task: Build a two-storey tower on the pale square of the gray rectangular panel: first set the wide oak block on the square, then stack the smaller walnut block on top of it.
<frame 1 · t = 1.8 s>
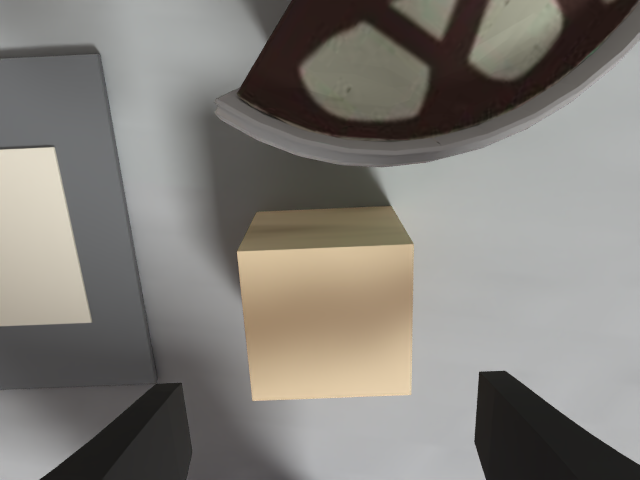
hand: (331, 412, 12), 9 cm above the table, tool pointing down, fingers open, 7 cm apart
food container: (425, 9, 17), on the table
oak block: (326, 270, 20), on the table
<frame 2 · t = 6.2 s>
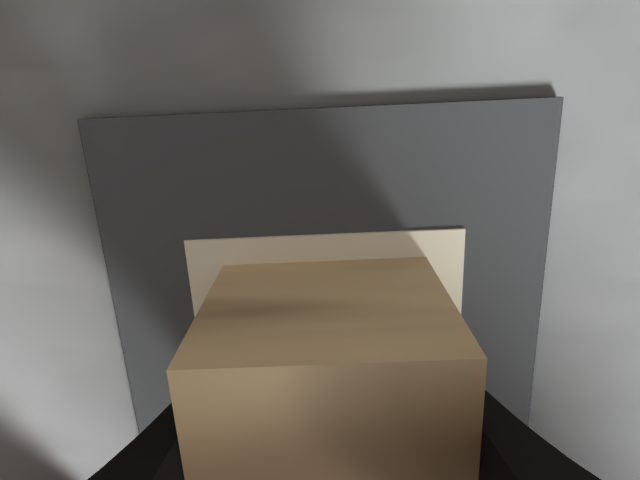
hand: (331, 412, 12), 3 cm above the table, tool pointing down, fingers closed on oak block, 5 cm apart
gray rectangular panel: (329, 350, 14), on the table
oak block: (328, 350, 14), resting on gray rectangular panel, touching gripper
when the fingers open (3 cm above the table, at t = 6.6 s): oak block stays where it is, resting on gray rectangular panel.
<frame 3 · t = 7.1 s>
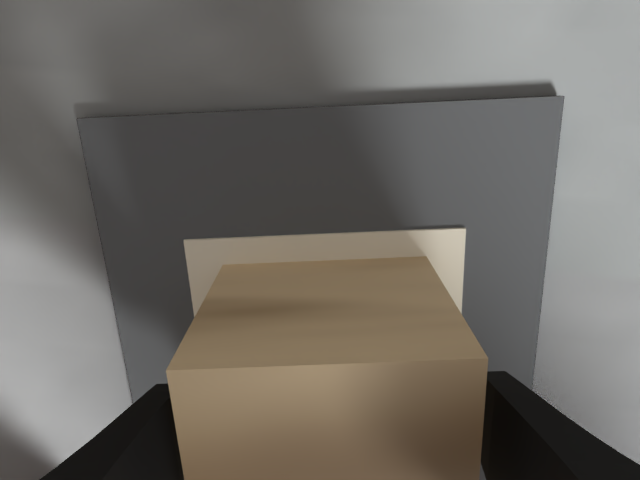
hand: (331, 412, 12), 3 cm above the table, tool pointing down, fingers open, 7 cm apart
gray rectangular panel: (329, 350, 14), on the table
oak block: (328, 349, 14), resting on gray rectangular panel
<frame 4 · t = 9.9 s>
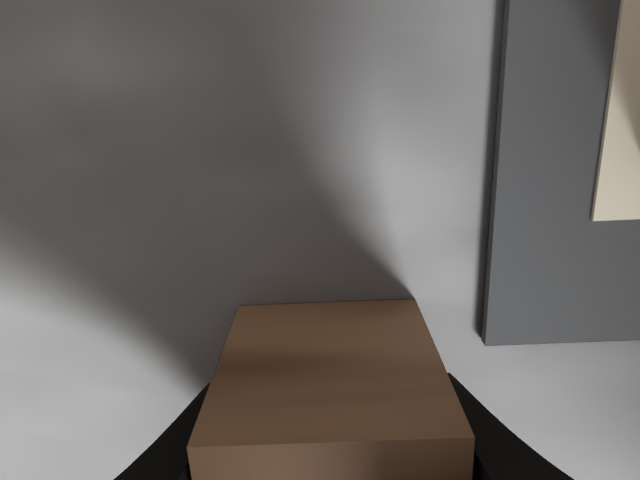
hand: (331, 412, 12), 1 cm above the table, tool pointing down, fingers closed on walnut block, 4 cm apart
walnut block: (329, 377, 13), on the table, touching gripper
when the fingers open (8 cm above the table, at t = 12.7 s): walnut block stays where it is, resting on oak block.
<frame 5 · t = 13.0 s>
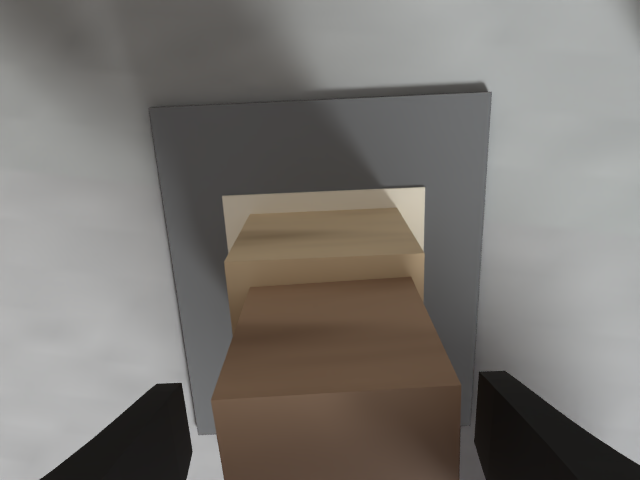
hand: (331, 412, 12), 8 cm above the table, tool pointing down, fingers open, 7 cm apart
gray rectangular panel: (327, 281, 19), on the table
walnut block: (335, 352, 14), point 5 cm above the table, touching oak block
oak block: (326, 278, 19), resting on gray rectangular panel, touching walnut block
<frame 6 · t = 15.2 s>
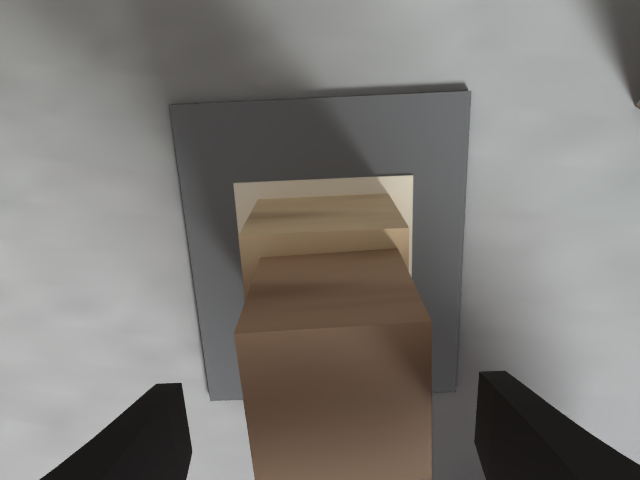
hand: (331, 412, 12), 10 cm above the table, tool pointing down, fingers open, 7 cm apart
gray rectangular panel: (326, 260, 21), on the table
walnut block: (333, 314, 16), point 5 cm above the table, touching oak block
oak block: (325, 257, 21), resting on gray rectangular panel, touching walnut block
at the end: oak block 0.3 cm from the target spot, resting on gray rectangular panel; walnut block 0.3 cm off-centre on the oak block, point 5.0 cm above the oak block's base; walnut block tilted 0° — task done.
